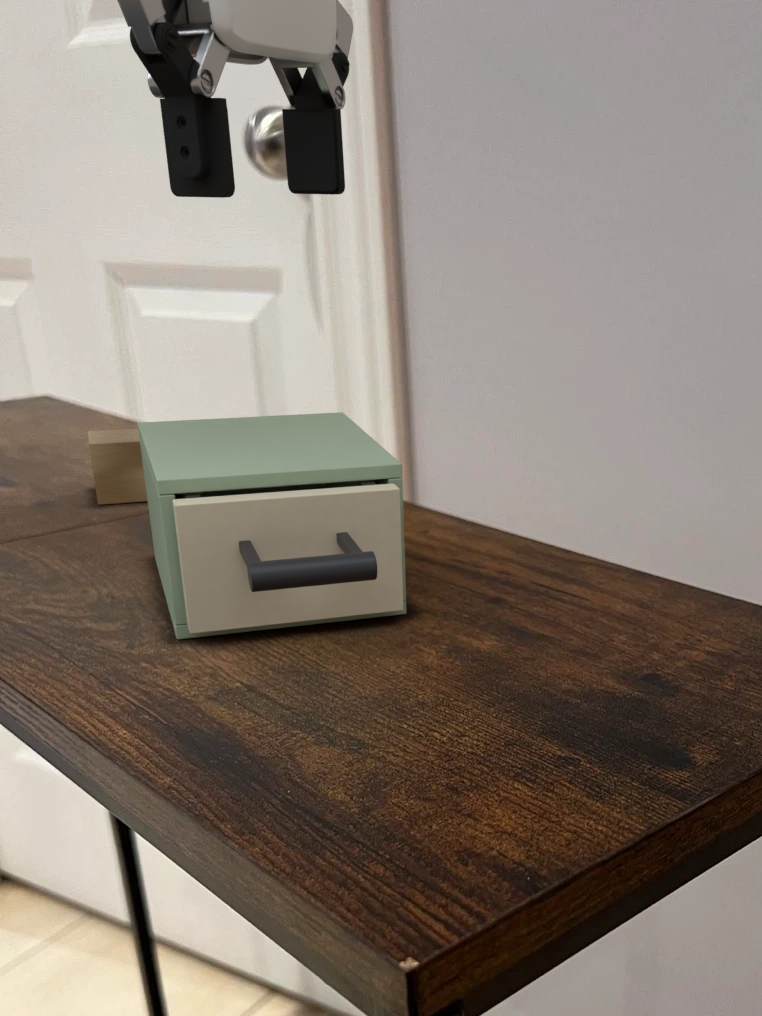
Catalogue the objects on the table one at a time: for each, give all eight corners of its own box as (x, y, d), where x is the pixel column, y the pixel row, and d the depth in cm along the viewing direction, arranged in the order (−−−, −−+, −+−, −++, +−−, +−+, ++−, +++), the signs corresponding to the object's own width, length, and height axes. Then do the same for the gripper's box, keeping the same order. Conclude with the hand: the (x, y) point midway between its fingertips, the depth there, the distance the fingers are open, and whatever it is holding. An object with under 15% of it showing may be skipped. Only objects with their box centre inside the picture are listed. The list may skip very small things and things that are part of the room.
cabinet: (406, 614, 65) (402, 463, 61) (176, 640, 61) (156, 479, 57) (350, 541, 77) (343, 411, 74) (155, 558, 73) (137, 422, 69)
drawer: (433, 647, 58) (430, 517, 55) (202, 676, 55) (186, 537, 52) (349, 541, 74) (344, 435, 71) (166, 557, 71) (153, 446, 68)
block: (98, 505, 84) (88, 443, 82) (95, 490, 88) (87, 430, 86) (162, 500, 86) (154, 439, 84) (157, 485, 89) (149, 427, 87)
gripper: (267, -180, 58) (295, 192, 65) (6, -298, 44) (81, 197, 51) (398, -194, 56) (412, 194, 63) (168, -325, 41) (222, 200, 48)
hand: (264, 195), depth 57 cm, fingers open, 9 cm apart
